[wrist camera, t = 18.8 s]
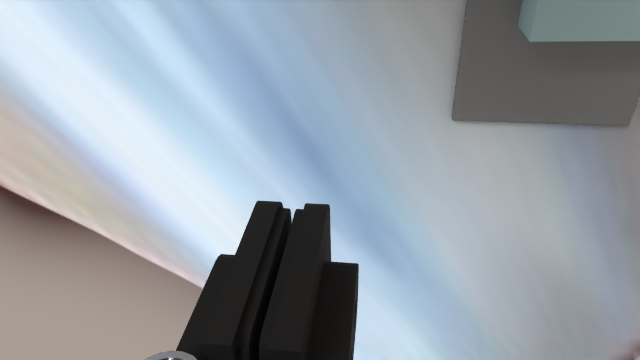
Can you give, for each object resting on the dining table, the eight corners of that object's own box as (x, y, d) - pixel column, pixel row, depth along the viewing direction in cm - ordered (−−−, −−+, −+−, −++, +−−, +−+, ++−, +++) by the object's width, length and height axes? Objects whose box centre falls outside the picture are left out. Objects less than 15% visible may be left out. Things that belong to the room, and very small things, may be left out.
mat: (478, -85, 26) (480, -84, 26) (699, -89, 25) (705, -88, 24) (451, 116, 33) (452, 120, 32) (624, 121, 31) (628, 125, 31)
